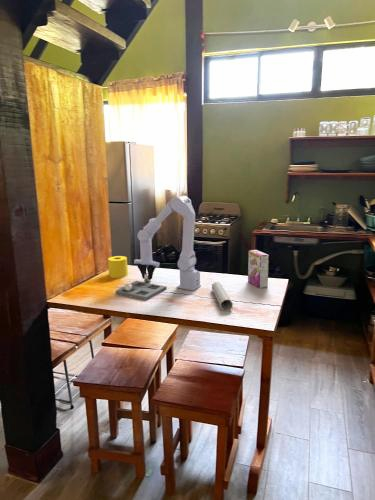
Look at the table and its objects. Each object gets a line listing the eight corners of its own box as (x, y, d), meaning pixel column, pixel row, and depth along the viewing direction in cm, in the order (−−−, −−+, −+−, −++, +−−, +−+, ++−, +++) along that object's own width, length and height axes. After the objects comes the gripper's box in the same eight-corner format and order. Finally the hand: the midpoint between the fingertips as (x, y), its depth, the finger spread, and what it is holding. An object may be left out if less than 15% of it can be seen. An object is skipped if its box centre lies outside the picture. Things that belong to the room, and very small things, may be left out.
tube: (209, 282, 168) (218, 301, 144) (219, 278, 168) (230, 297, 144) (212, 292, 169) (222, 313, 145) (223, 288, 169) (234, 308, 145)
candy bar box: (247, 281, 180) (247, 250, 176) (255, 280, 181) (256, 249, 178) (259, 288, 170) (260, 255, 166) (268, 287, 171) (269, 254, 167)
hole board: (166, 289, 170) (166, 286, 170) (146, 300, 157) (146, 297, 157) (136, 283, 179) (136, 280, 179) (115, 293, 166) (115, 290, 165)
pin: (133, 292, 167) (133, 284, 166) (129, 294, 164) (128, 286, 163) (128, 291, 168) (127, 283, 168) (123, 293, 166) (123, 285, 165)
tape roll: (120, 271, 201) (119, 255, 199) (131, 274, 194) (130, 258, 192) (105, 275, 194) (104, 258, 192) (116, 279, 187) (115, 261, 185)
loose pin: (151, 280, 182) (151, 273, 182) (148, 282, 180) (147, 275, 179) (146, 280, 184) (146, 272, 183) (143, 281, 181) (142, 274, 180)
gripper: (129, 253, 179) (131, 278, 182) (153, 256, 171) (154, 283, 175) (138, 250, 184) (139, 275, 188) (161, 253, 177) (162, 278, 181)
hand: (147, 278), depth 182 cm, fingers closed on loose pin, 3 cm apart
